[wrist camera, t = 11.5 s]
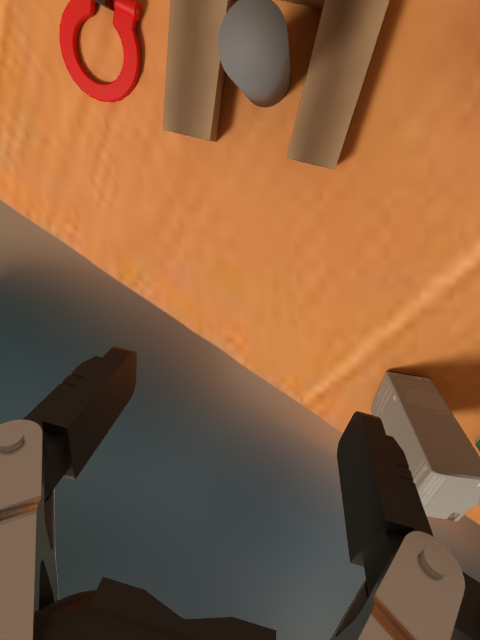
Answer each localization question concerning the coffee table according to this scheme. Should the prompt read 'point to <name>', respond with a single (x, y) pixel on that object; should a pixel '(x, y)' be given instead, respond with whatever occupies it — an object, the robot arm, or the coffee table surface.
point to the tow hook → (125, 24)
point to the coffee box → (478, 443)
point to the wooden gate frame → (320, 85)
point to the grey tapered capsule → (256, 50)
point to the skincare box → (430, 444)
